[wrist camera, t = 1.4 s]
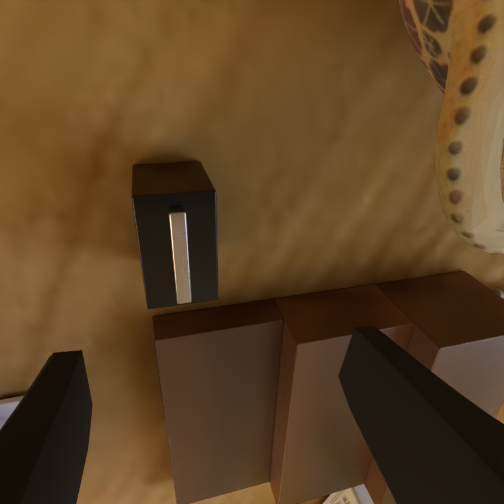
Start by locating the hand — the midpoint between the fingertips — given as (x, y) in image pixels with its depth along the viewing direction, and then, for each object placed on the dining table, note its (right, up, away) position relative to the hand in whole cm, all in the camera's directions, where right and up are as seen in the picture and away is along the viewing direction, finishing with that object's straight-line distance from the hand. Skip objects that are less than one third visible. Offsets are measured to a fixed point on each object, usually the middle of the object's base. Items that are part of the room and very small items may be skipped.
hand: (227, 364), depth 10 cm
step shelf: (+5, -6, +17) cm, 19 cm away
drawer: (-3, +5, +8) cm, 10 cm away
